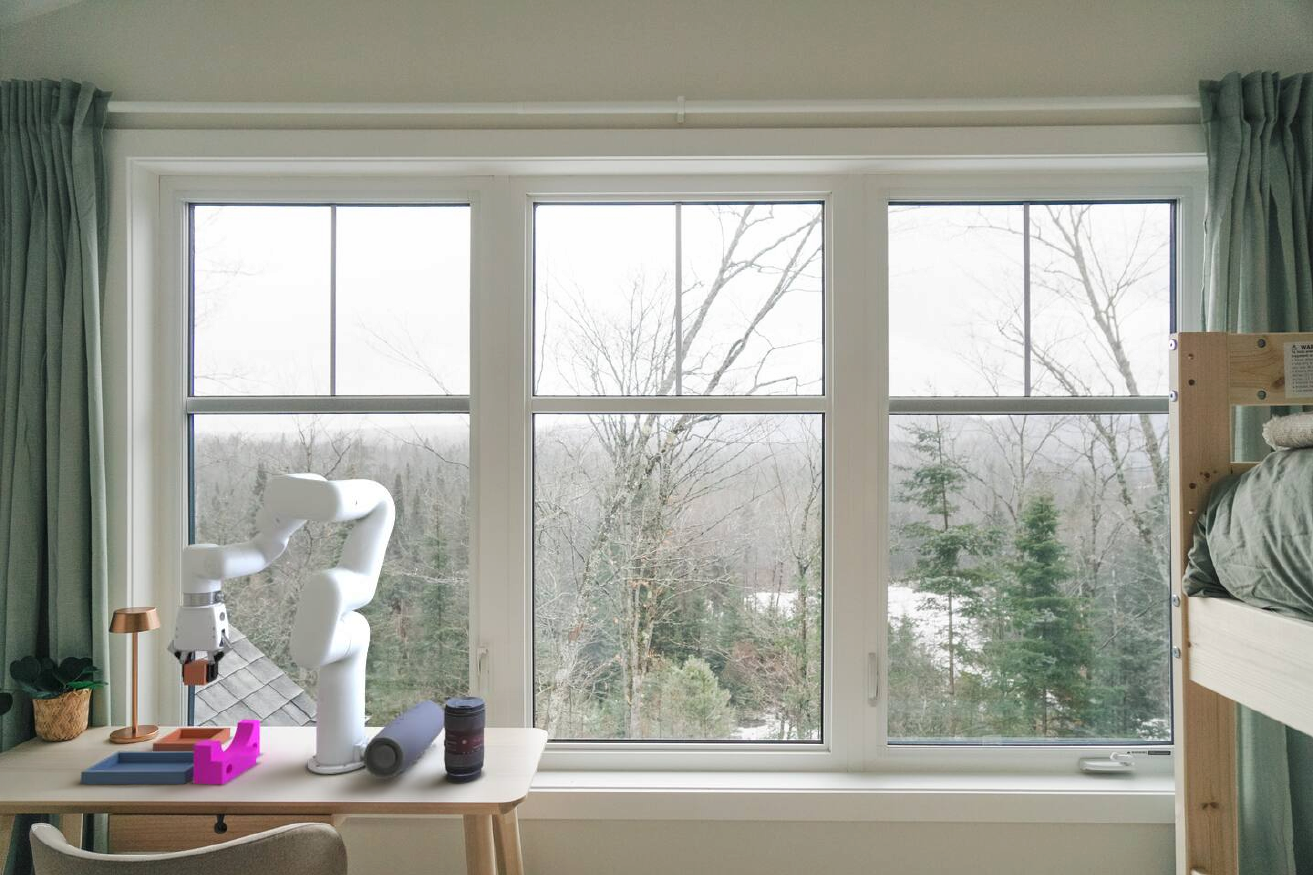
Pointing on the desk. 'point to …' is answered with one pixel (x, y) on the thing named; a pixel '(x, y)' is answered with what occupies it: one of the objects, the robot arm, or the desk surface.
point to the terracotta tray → (190, 738)
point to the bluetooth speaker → (404, 740)
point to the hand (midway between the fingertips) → (200, 679)
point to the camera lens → (464, 738)
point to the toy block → (227, 755)
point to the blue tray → (142, 768)
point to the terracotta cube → (195, 672)
